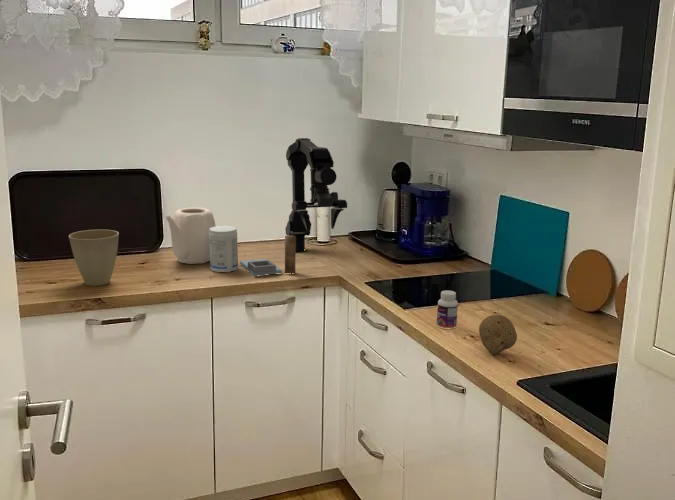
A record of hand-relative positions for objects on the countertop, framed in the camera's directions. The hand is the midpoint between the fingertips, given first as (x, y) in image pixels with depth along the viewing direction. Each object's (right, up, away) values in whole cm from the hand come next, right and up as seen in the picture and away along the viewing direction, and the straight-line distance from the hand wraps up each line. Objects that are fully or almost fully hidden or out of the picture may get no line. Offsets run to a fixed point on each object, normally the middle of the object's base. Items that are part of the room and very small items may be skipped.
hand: (320, 229), depth 238 cm
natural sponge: (+45, -33, -70) cm, 89 cm away
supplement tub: (-33, -14, -1) cm, 36 cm away
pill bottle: (+36, -28, -52) cm, 69 cm away
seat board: (-21, -14, 0) cm, 25 cm away
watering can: (-46, -12, +8) cm, 48 cm away
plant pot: (-71, -18, -20) cm, 76 cm away
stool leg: (-10, -15, -4) cm, 19 cm away
